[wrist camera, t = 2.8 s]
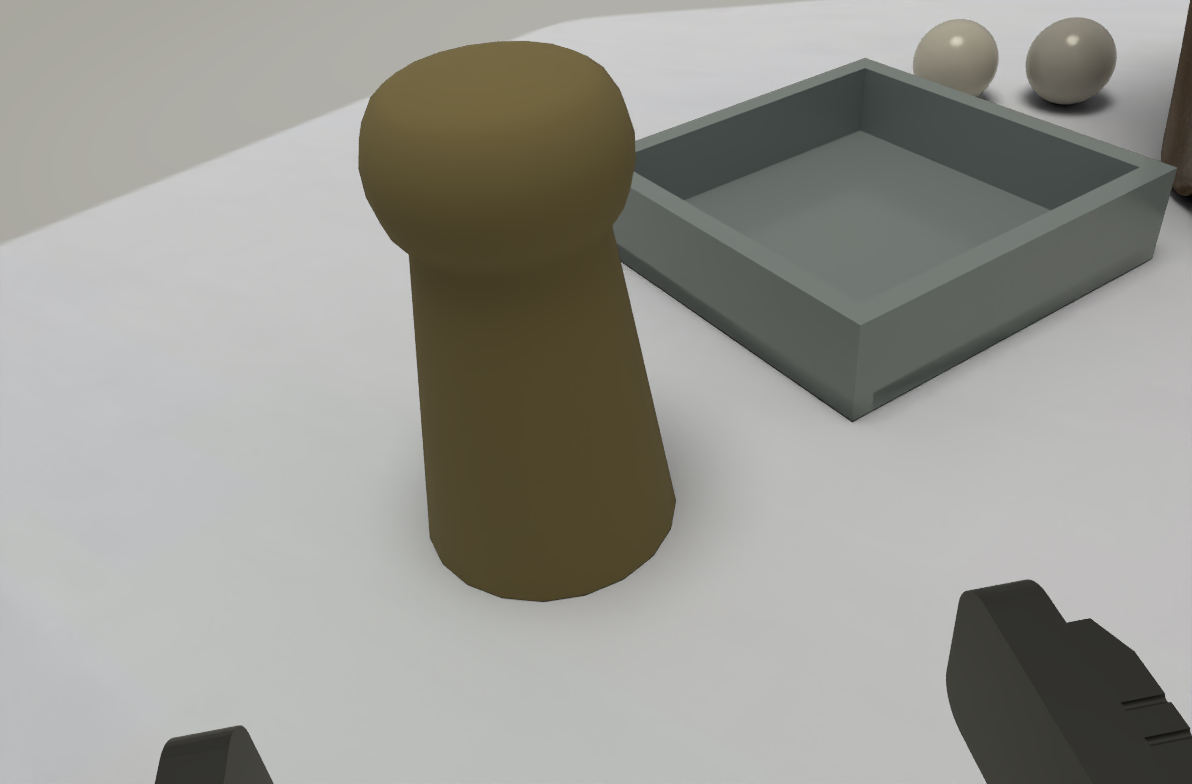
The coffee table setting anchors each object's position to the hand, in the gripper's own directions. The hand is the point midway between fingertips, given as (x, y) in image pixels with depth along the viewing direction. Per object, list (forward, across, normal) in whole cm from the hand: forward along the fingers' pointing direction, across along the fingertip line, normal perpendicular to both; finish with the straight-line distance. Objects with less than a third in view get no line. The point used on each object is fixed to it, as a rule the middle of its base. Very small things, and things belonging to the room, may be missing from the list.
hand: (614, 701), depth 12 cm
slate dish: (+21, -11, +8) cm, 25 cm away
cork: (+12, 0, +8) cm, 14 cm away
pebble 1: (+31, -19, +8) cm, 37 cm away
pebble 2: (+29, -22, +8) cm, 38 cm away
